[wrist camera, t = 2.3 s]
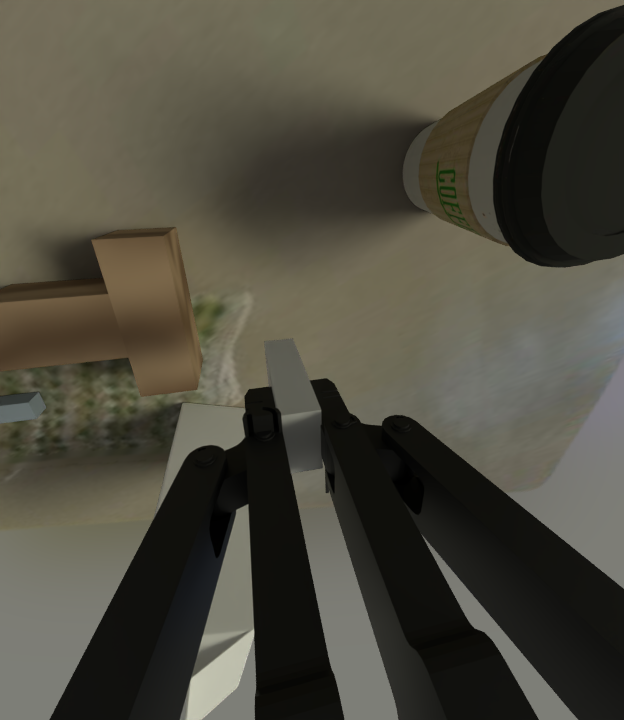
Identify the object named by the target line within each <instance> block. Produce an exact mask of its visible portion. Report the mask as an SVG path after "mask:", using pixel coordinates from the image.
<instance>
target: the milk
mask: <svg viewBox="0 0 624 720" xmlns="http://www.w3.org/2000/svg"><path fill="white" fill-rule="evenodd" d="M244 413H245V408H238V407H227V406H216V405H206V404H195V403H182V406H181V410H180V414H179V418H178V422H177V426H176V430H175V435H174V439H173V443H172V447H171V451H170V455H169V459H168V463H167V467H166V471H165V475H164V479H163V483H162V487H161V491H160V495H159V499H158V503H157V507H156V511H155V515H154V518H155V516H156V514H157V512H158V510H159V508H160V506H161V504H162V502H163V500H164V498H165V496H166V495H167V493H168V491H169V489H170V487H171V485H172V483H173V481H174V479H175V477H176V475H177V473H178V471H179V470H180V468H181V466H182V464H183V462H184V460H185V458H186V457H187V456H188V454H189V453H191V452H192V451H193V450H195V449H197V448H199V447H202V446H207V445H215V446H219V447H221V448H223V449H224V451H225V450H228V449H230V448H232V447H234V446H236V445H238V444H239V443H240V442H241V441H242V440H243V439H244V437H245V433H244V427H243V420H242V418H243V414H244ZM153 520H154V519H153ZM253 638H254V619H253V597H252V575H251V553H250V531H249V510H248V505H246V506H243V507H241V508H239V509H237V510H236V516H235V520H234V524H233V527H232V531H231V535H230V538H229V542H228V546H227V549H226V553H225V556H224V560H223V564H222V567H221V571H220V575H219V578H218V582H217V586H216V589H215V593H214V597H213V600H212V604H211V608H210V611H209V615H208V618H207V622H206V626H205V629H204V633H203V637H202V640H201V644H200V648H199V651H198V655H197V659H196V662H195V666H194V670H193V673H192V677H191V681H190V684H189V688H188V691H187V695H186V699H185V702H184V706H183V710H182V713H181V717H180V720H202V719H203V718H204V717H205V716H206V715H207V714H208V713H209V712H210V711H212V710H213V709H214V708H215V707H216V706H217V705H218V704H219V703H220V702H221V701H223V700H224V699H225V698H226V697H227V696H228V695H229V694H230V693H232V692H233V691H234V690H235V689H236V688H237V687H238V685H239V682H240V679H241V676H242V672H243V669H244V666H245V663H246V660H247V657H248V654H249V650H250V647H251V644H252V640H253Z"/></svg>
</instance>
